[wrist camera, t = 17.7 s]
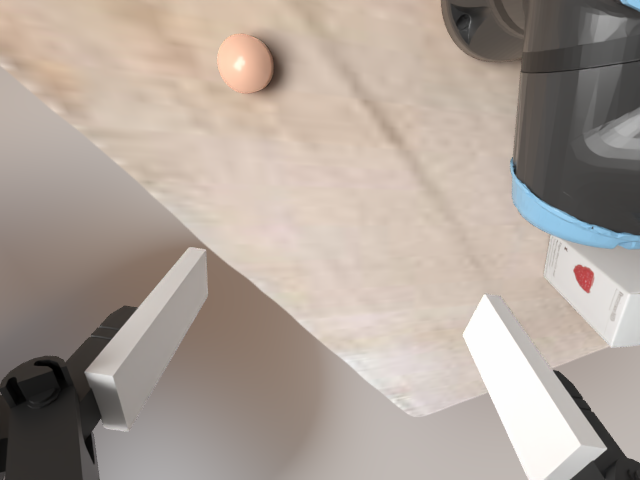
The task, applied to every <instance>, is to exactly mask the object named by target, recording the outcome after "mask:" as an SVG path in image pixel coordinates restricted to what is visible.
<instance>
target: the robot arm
mask: <svg viewBox="0 0 640 480" xmlns="http://www.w3.org/2000/svg"><path fill="white" fill-rule="evenodd" d="M441 8H442V14H443V19H444V22H445V25H446V28H447V30H448V32H449V34H450V36H451V38H452V39H453V41H454V42H455V43H456V45H457V46H458V47H459V48H460V49H461V50H463V51H464V52H465V53H467V54H468V55H470V56H472V57H474V58H476V59H479V60H483V61H490V62H501V61H513V60H517V59H521V58H522V66H521V73H520V84H519V95H518V106H517V117H516V128H515V139H514V150H513V157H512V159H511V161H510V170H511V174H512V199H513V203H514V205H515V206H516V207H517V209H518V211H519V212H520V214H521V215H522V217H524V218H525V219H526V220H527V221H528V222H529V223H531V224H532V225H534V226H535V227H537V228H539V229H540V230H542V231H544V232H546V233H548V234H551V235H553V236H555V237H558V238H561V239H564V240H567V241H570V242H573V243H577V244H581V245H586V246H591V247H597V248H605V249H613V248H615V247H616V246H617V245H618V246H621V247H623V248H626V249H628V250H632V249H640V0H441ZM207 285H208V284H207V260H206V249H199V248H193V247H189V248H188V249H187V250H186V252H185V253H184V254H183V255H182V256H181V258H180V259H179V260H178V261H177V262H176V264H175V265H174V266H173V267H172V268H171V269H170V271H169V272H168V273H167V274H166V276H165V277H164V278H163V279H162V280H161V281H160V283H159V284H158V285H157V286H156V288H155V289H154V290H153V291H152V292H151V294H149V296H148V297H147V298H146V299H145V300H144V302H143V303H142V304H141V305H140V306H139V308H137V307H130V306H123V307H122V308H120V309H119V310H117V311H115V312H113V313H112V314H110V315H109V316H108V317H107V318H106V319H105V321H104V322H103V323H102V324H101V325H100V327H99V328H97V329H96V330H95V331H94V332H93V333H92V334H91V337H89V338H88V339H87V340H86V341H85V342H84V343H83V344H82V345H81V346H80V347H79V349H78V350H77V351H76V352H75V353H74V354H73V355H72V356H71V357H70V358H69V359H68V360H67V361H66V362H64V360H63V359H61V358H59V357H57V356H43V357H39V358H34V359H32V360H29V361H27V362H25V363H22V364H21V365H19V366H18V367H16V368H15V369H13V370H12V371H10V372H9V374H7V376H6V377H5V378H4V379H3V380H2V382H1V384H0V392H1V394H2V395H0V480H3V478H4V476H5V480H100V479H99V471H98V464H97V456H96V448H95V440H94V434H93V432H92V430H93V429H94V428H95V426H96V425H97V423H98V422H99V420H100V419H101V420H102V423H103V425H104V428H105V429H112V430H119V431H126V432H129V431H130V429H131V427H132V425H133V424H134V422H135V420H136V419H137V417H138V415H139V414H140V412H141V410H142V408H143V407H144V405H145V403H146V401H147V400H148V398H149V396H150V395H151V393H152V391H153V390H154V388H155V386H156V384H157V383H158V381H159V379H160V377H161V376H162V374H163V372H164V370H165V369H166V367H167V365H168V364H169V362H170V360H171V358H172V357H173V355H174V353H175V352H176V350H177V348H178V346H179V345H180V343H181V341H182V340H183V338H184V336H185V334H186V332H187V331H188V329H189V327H190V325H191V324H192V322H193V320H194V319H195V317H196V315H197V314H198V312H199V310H200V309H201V307H202V305H203V303H204V302H205V300H206V298H207V296H208V286H207ZM463 337H464V339H465V342H466V344H467V346H468V348H469V350H470V353H471V355H472V357H473V359H474V361H475V364H476V366H477V368H478V370H479V372H480V375H481V377H482V379H483V381H484V383H485V385H486V388H487V390H488V392H489V394H490V396H491V399H492V401H493V403H494V405H495V407H496V410H497V412H498V414H499V416H500V418H501V420H502V423H503V425H504V427H505V429H506V432H507V434H508V436H509V438H510V440H511V442H512V444H513V447H514V449H515V451H516V453H517V455H518V458H519V460H520V462H521V465H522V466H523V469H524V471H525V473H526V475H527V477H528V480H640V463H639V462H637V461H635V460H633V459H629V458H627V457H626V456H625V454H624V453H623V452H622V450H621V449H620V448H619V446H618V445H617V444H616V442H615V441H614V439H613V438H612V437H611V435H610V434H609V433H608V431H607V430H606V429H605V427H604V426H603V424H602V423H601V422H600V421H599V419H598V418H597V416H596V415H595V414H594V412H591V408H590V407H589V405H588V404H587V403H586V401H584V400H583V398H582V396H581V394H580V393H579V392H578V390H577V389H576V388H575V386H574V385H573V384H572V383H571V382H570V381H569V380H568V379H567V378H566V377H565V376H564V375H562V374H561V373H560V372H559V371H555V370H552V369H551V367H550V366H549V365H548V363H547V362H546V360H545V359H544V357H543V356H542V355H541V353H540V352H539V350H538V349H537V347H536V346H535V345H534V343H533V342H532V340H531V339H530V337H529V336H528V335H527V333H526V332H525V330H524V329H523V327H522V326H521V325H520V323H519V322H518V320H517V319H516V317H515V316H514V315H513V313H512V312H511V310H510V309H509V307H508V306H507V305H506V303H505V302H504V300H503V299H502V297H501V296H497V295H491V294H484V296H483V297H482V299H481V301H480V303H479V305H478V307H477V309H476V311H475V312H474V314H473V316H472V318H471V320H470V322H469V324H468V325H467V327H466V329H465V331H464V333H463Z"/></svg>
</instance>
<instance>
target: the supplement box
mask: <svg viewBox="0 0 640 480" xmlns="http://www.w3.org/2000/svg"><path fill="white" fill-rule="evenodd" d="M544 277H545V279H546V280H547V281H548V282H549V283H550V284H551V285H552V286H553V287H554V288H555V289H556V290H557V291H558V292H559V293H560V294H561V295H562V296H563V297H564V298H565V300H566V301H567V302H568V303H569V304H570V305H571V306H572V307H573V308H574V309H575V310H576V311H577V312H578V313H579V314H580V315H581V316H582V317H583V318H584V319H585V321H586V322H587V323H588V324H589V325H590V326H591V327H592V328H593V329H594V330H595V331H596V332H597V333H598V334H599V335H600V336H601V337H602V338H603V339H604V341H605V342H606V343H607V344H608V345H609V346H610V347H611V348H613V347H627V346H637V345H640V249H632V250H628V249H626V248H623V247H621V246H618V245H617V246H616V247H615V248H613V249H605V248H597V247H591V246H586V245H581V244H577V243H573V242H570V241H567V240H564V239H561V238H558V237H555V236H553V235H550V241H549V247H548V252H547V258H546V263H545V269H544Z"/></svg>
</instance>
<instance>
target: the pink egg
mask: <svg viewBox="0 0 640 480" xmlns="http://www.w3.org/2000/svg"><path fill="white" fill-rule="evenodd" d="M217 62H218V69H219V72H220V74H221V76H222V78H223V80H224V81H225V83H226V84H227V85H228V86H229V87H230V88H232V89H233V90H235V91H237V92H240V93H253V92H256V91H259V90H262V89H263V88H265V87H266V86H267V85H268V84H269V82H270V81H271V79H272V76H273V71H274V63H273V58H272V55H271V53H270V51H269V49H268V48H267V46H266V45H265V44H264V43H263V42H262V41H260V40H259V39H257V38H255V37H252V36H249V35H246V34H234V35H232V36H230V37H228V38H227V39H226V40H224V42H223V43H222V45H221V46H220V49H219V52H218V58H217Z"/></svg>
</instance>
